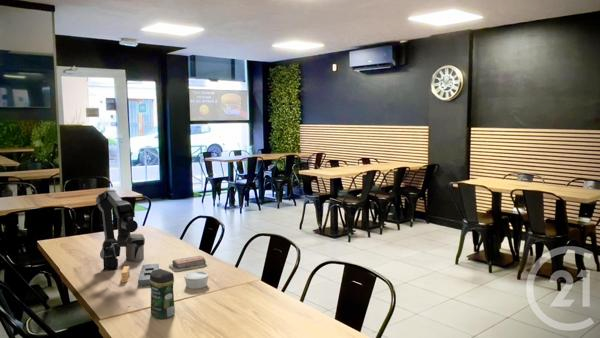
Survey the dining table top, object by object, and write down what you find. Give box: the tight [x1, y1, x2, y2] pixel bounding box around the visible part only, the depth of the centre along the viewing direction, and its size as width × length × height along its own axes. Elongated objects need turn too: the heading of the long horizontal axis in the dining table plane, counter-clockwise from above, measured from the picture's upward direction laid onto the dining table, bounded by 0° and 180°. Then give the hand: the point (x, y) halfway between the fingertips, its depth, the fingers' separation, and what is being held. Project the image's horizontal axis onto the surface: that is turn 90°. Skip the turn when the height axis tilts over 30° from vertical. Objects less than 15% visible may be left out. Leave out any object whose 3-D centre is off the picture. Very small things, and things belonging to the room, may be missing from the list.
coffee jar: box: [150, 268, 176, 320], centre depth 187 cm, size 10×8×19 cm
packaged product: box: [168, 255, 208, 273], centre depth 250 cm, size 18×5×10 cm
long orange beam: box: [121, 265, 130, 283], centre depth 230 cm, size 2×10×5 cm, turn 14°
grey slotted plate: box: [137, 263, 160, 287], centre depth 232 cm, size 24×8×3 cm, turn 13°
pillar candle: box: [125, 233, 145, 263], centre depth 261 cm, size 10×10×15 cm
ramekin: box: [183, 271, 209, 290], centre depth 221 cm, size 11×11×5 cm
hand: (125, 259), depth 229 cm, fingers open, 9 cm apart
